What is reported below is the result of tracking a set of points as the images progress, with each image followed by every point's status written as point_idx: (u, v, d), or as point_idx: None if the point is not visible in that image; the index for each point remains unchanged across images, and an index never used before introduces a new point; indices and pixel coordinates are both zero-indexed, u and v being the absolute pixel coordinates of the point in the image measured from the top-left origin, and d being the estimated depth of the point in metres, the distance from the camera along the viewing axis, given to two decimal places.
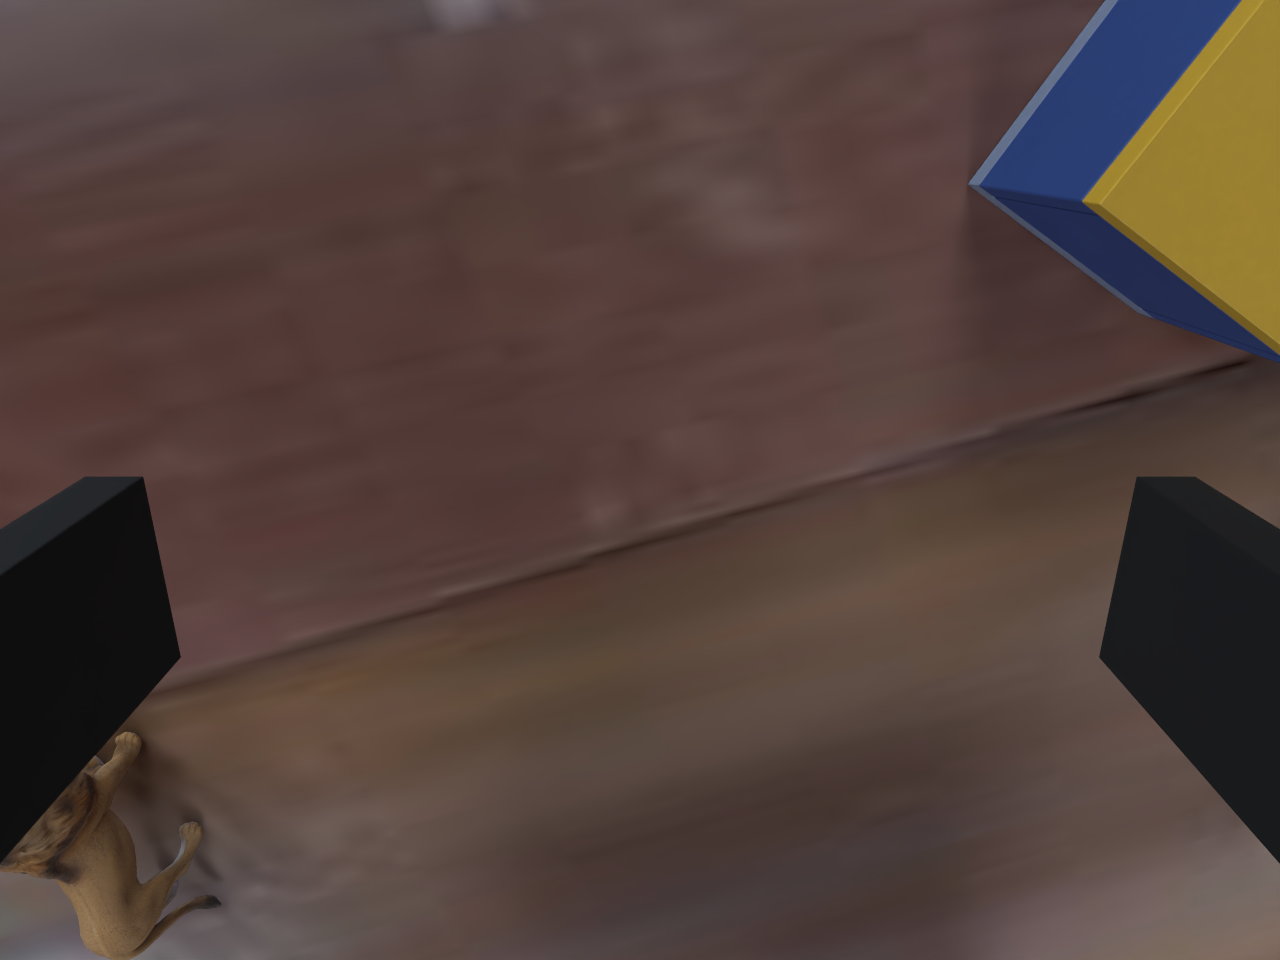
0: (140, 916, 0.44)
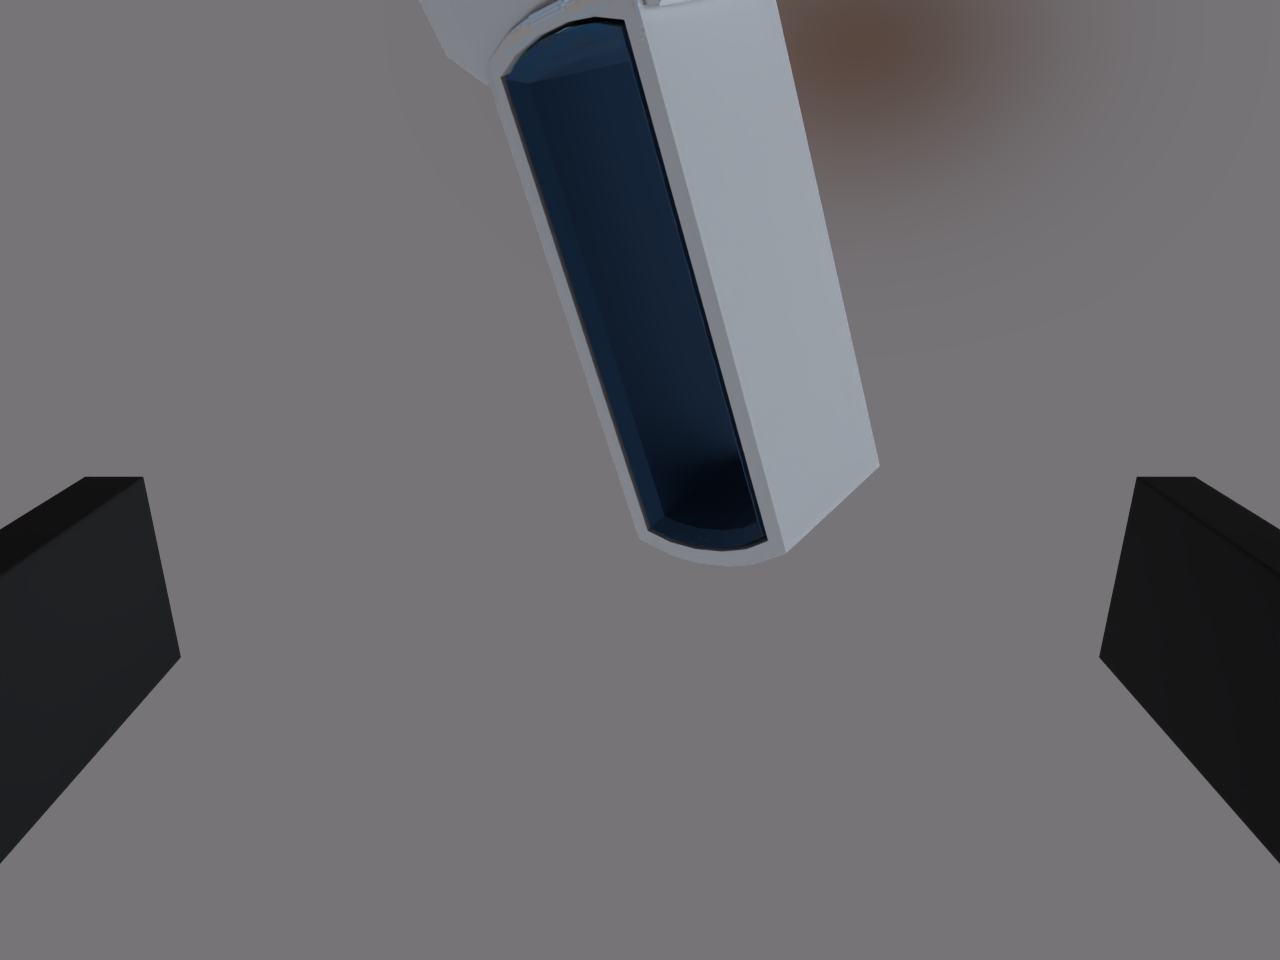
0: None
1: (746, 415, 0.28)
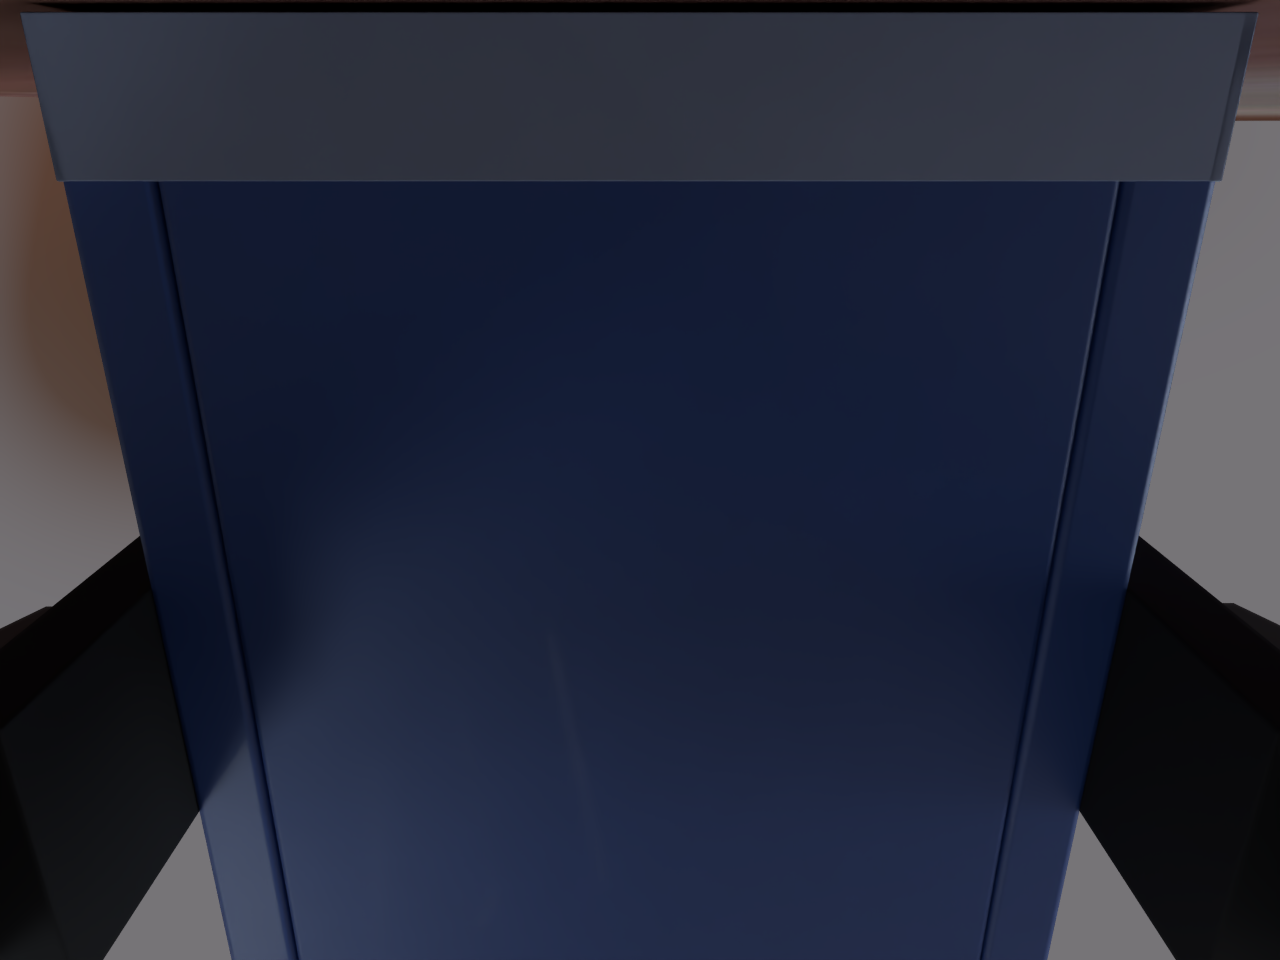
0: None
1: None
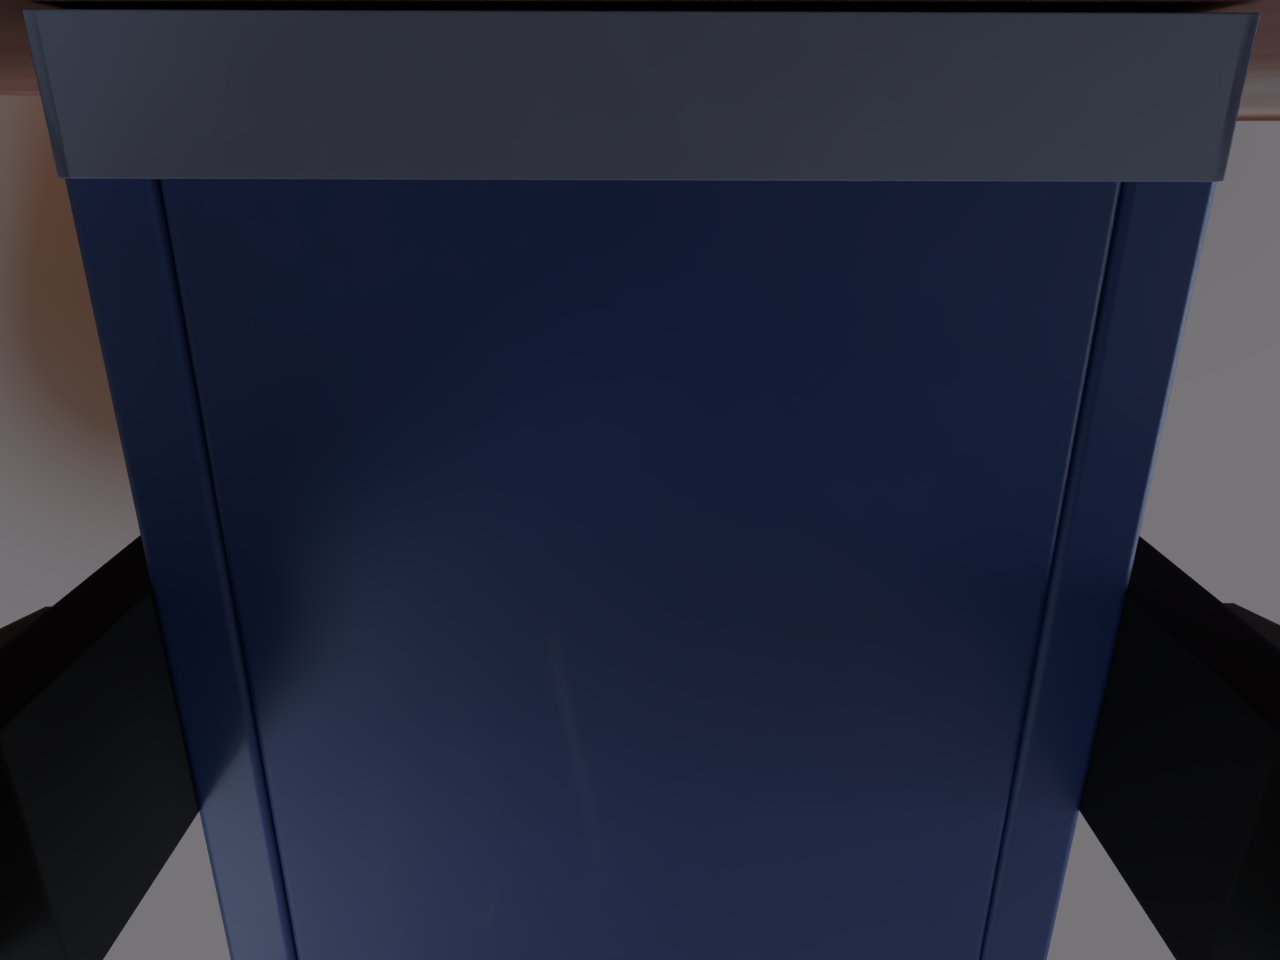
0: None
1: None
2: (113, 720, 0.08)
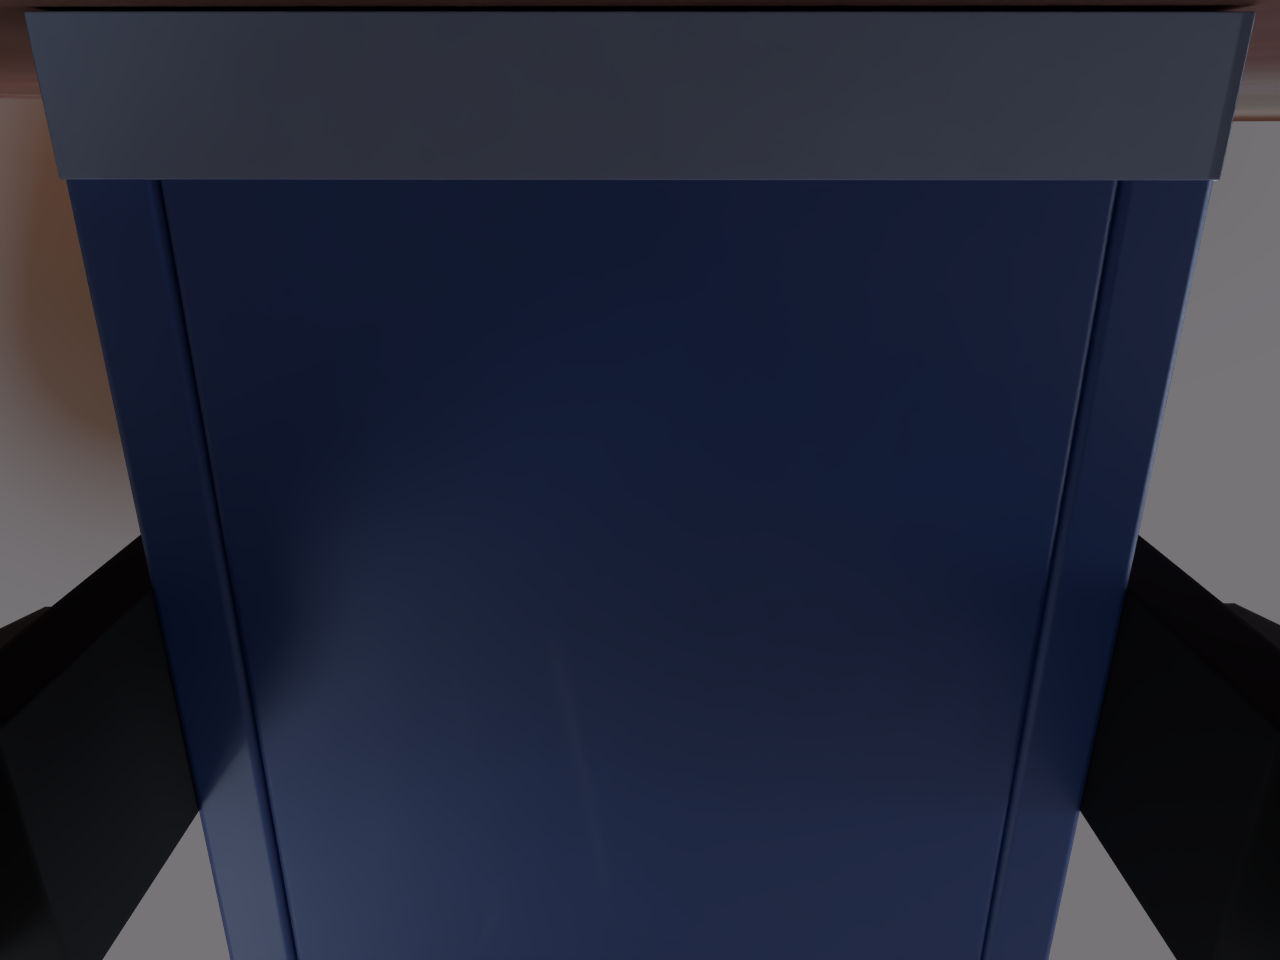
0: None
1: None
2: (112, 720, 0.08)
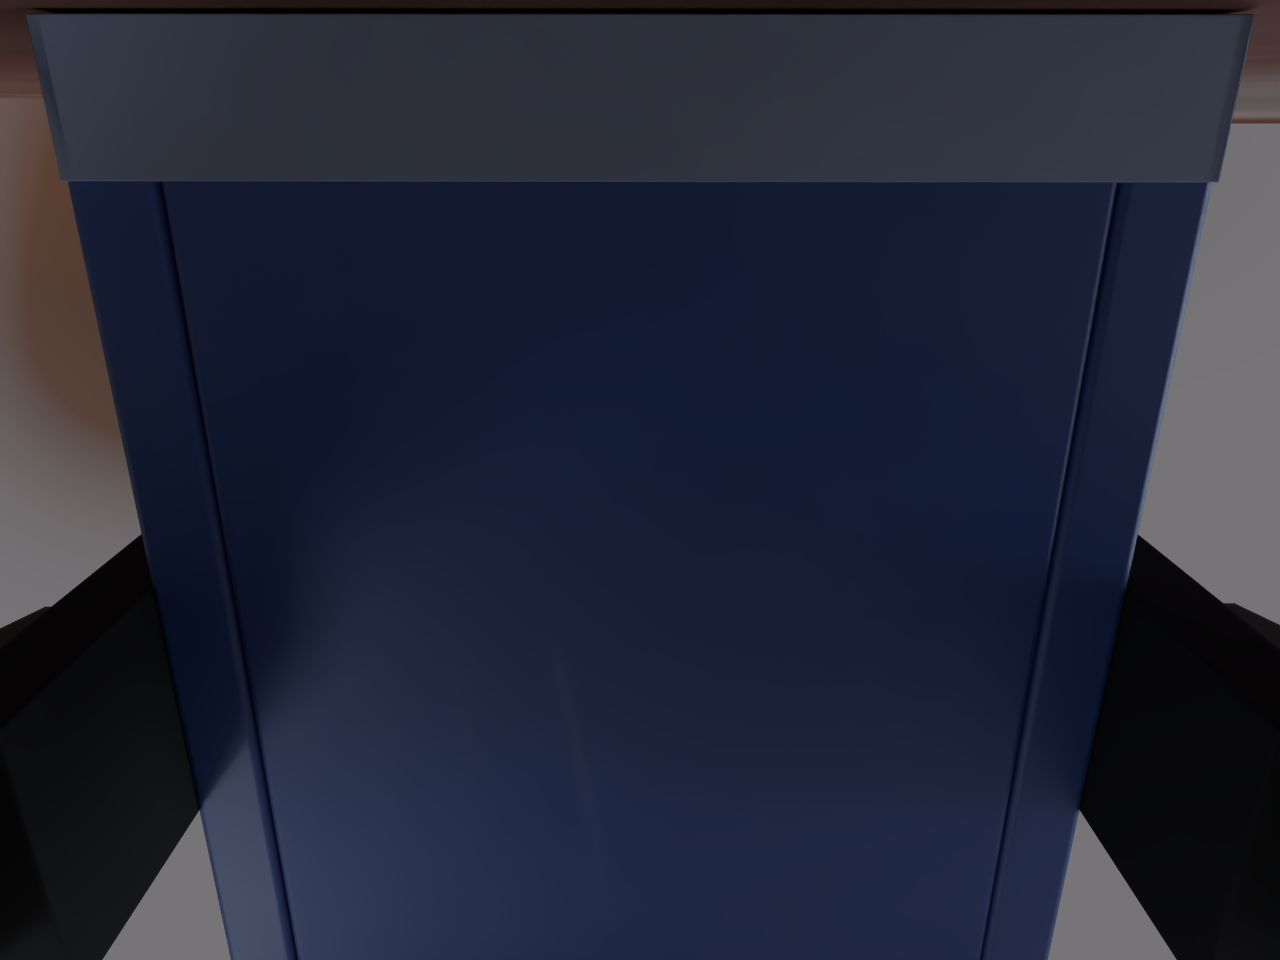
0: None
1: None
2: (112, 720, 0.08)
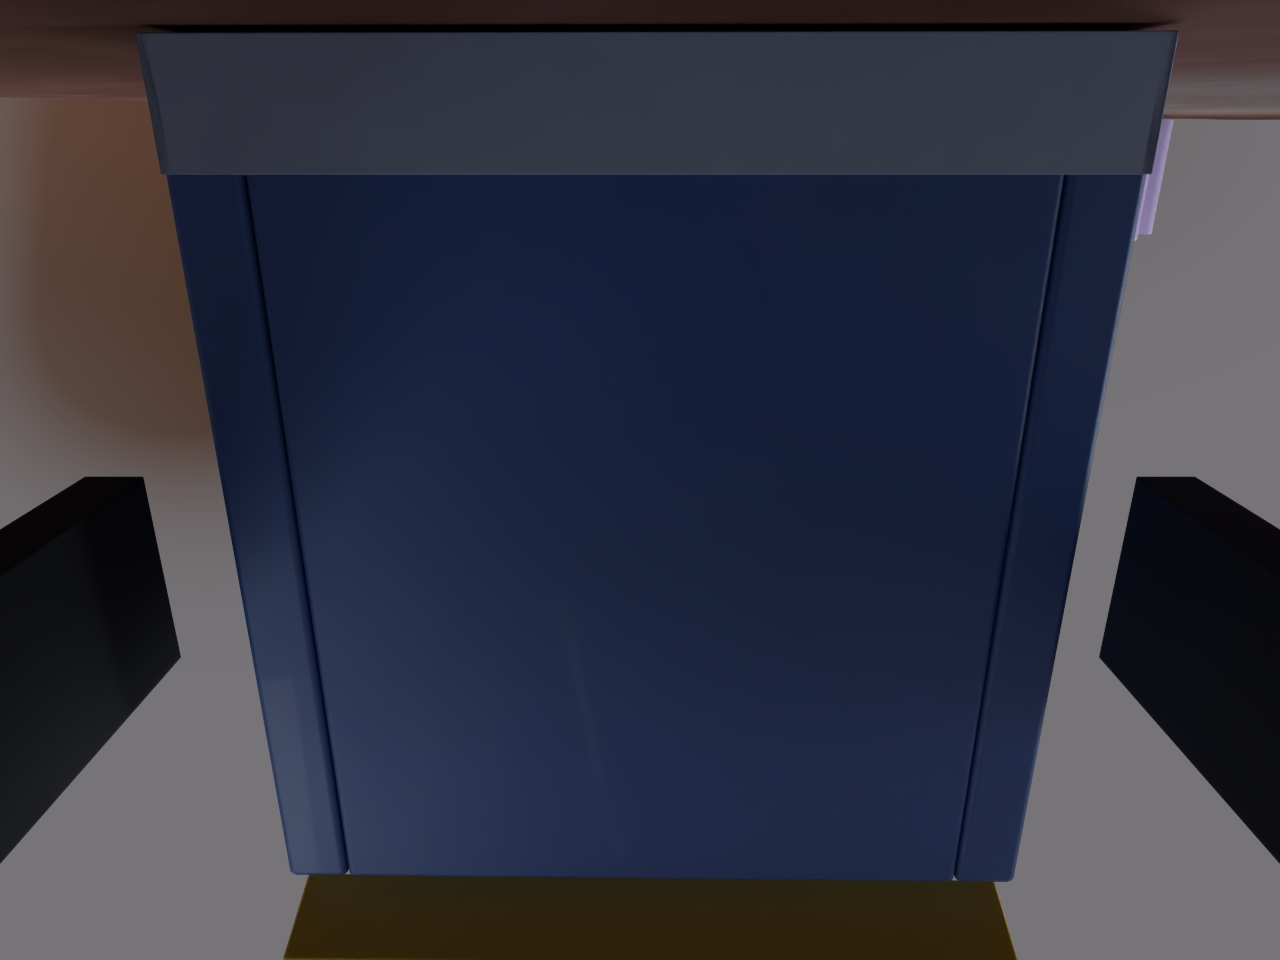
0: None
1: None
2: None
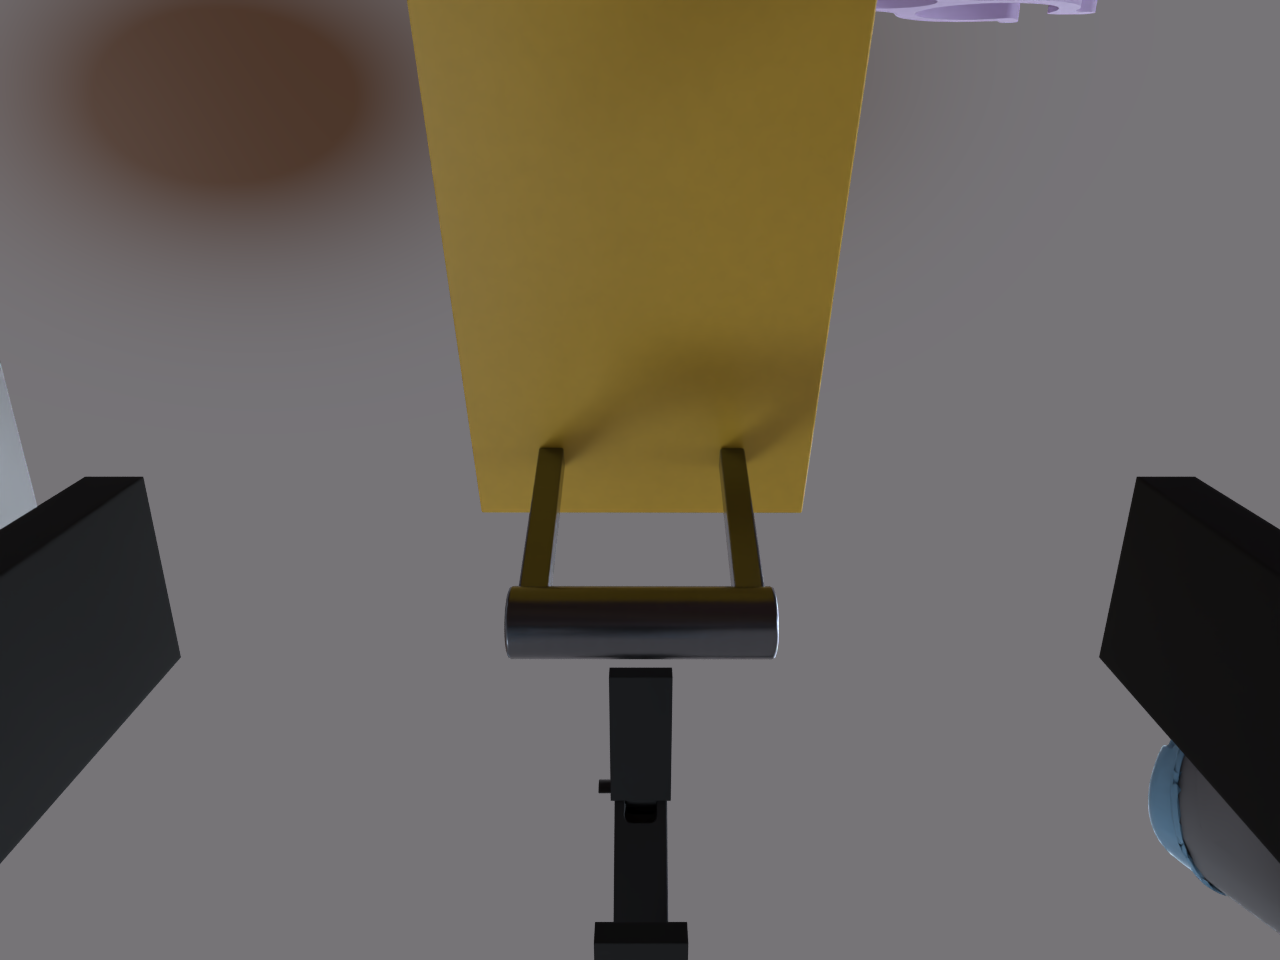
0: None
1: None
2: None
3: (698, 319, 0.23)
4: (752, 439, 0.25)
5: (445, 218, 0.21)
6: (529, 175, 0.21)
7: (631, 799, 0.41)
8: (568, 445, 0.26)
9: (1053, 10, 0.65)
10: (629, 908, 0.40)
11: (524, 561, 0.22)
